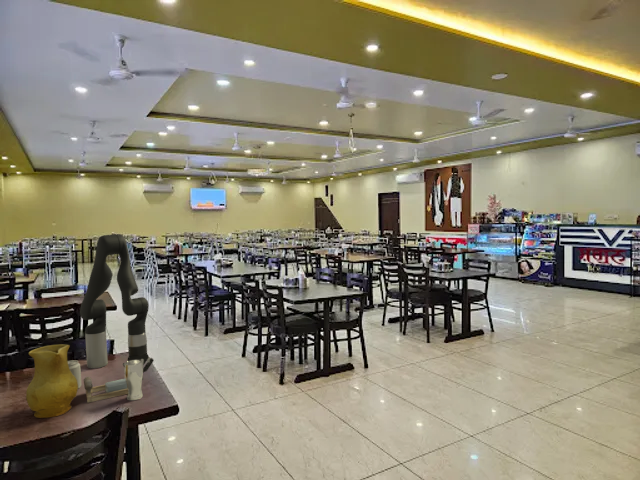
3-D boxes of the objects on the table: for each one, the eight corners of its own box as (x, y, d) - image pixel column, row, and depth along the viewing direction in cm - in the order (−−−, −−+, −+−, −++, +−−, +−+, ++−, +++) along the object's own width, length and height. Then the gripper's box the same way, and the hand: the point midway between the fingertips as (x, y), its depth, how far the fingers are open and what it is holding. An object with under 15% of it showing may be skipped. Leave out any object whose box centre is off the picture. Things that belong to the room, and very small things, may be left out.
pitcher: (21, 424, 154) (20, 356, 154) (32, 406, 171) (31, 344, 171) (75, 416, 161) (74, 350, 161) (81, 399, 178) (80, 339, 178)
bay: (84, 393, 181) (83, 376, 180) (126, 384, 190) (125, 368, 189) (85, 403, 172) (84, 385, 171) (130, 393, 180) (129, 376, 180)
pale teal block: (105, 392, 183) (105, 383, 183) (125, 387, 188) (125, 378, 187) (108, 396, 178) (107, 387, 178) (128, 391, 183) (128, 382, 182)
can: (58, 390, 184) (56, 363, 183) (74, 384, 191) (73, 358, 190) (68, 393, 181) (66, 366, 180) (85, 387, 187) (83, 360, 187)
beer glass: (126, 402, 172) (124, 366, 171) (125, 396, 178) (123, 361, 177) (144, 398, 175) (143, 363, 174) (143, 392, 181) (141, 358, 180)
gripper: (151, 338, 193) (153, 375, 194) (119, 343, 186) (121, 382, 187) (155, 342, 186) (156, 381, 188) (122, 348, 179) (124, 388, 181)
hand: (139, 381), depth 187 cm, fingers closed
